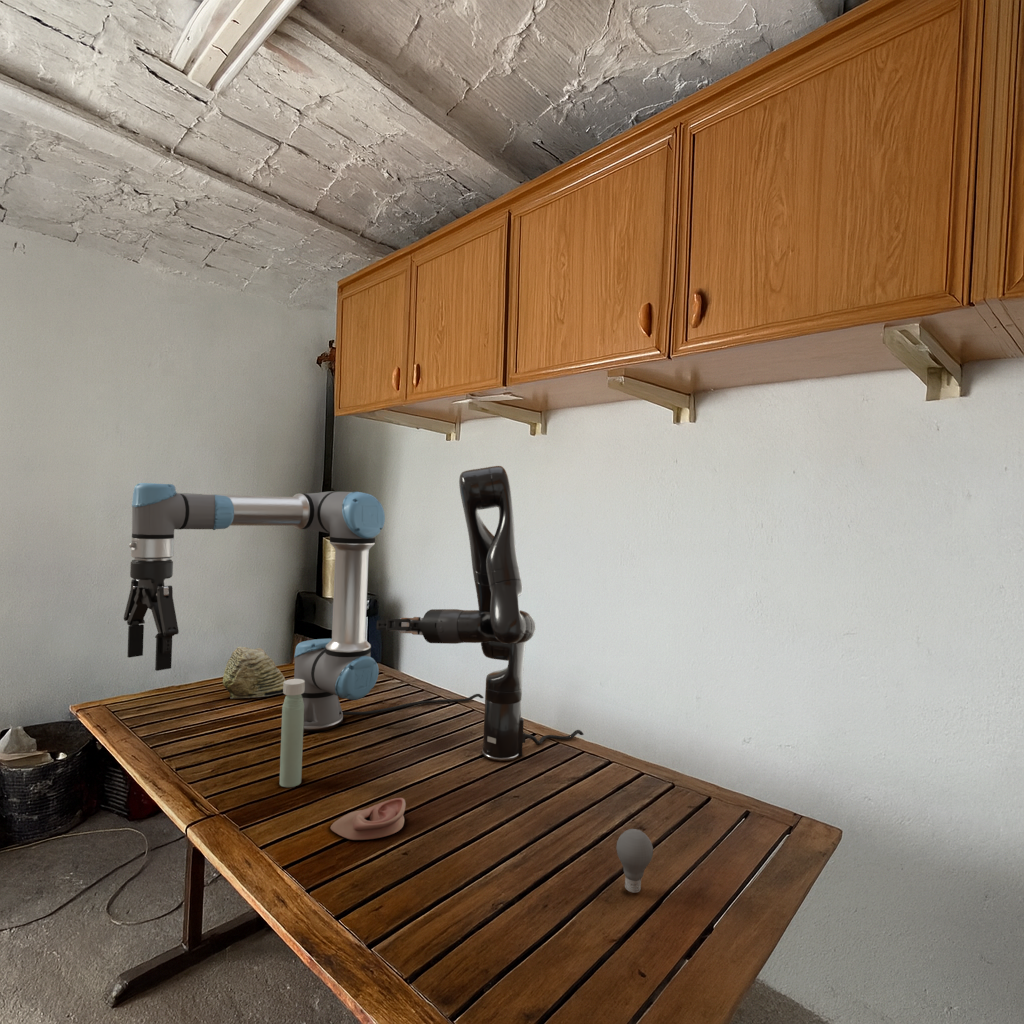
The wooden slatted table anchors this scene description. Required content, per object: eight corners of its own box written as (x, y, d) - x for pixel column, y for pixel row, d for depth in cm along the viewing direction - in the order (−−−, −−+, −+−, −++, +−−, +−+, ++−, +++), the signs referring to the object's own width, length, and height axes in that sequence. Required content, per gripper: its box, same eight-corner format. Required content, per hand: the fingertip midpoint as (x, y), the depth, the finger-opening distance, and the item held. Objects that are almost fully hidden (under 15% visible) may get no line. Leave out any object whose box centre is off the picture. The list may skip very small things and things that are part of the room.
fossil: (218, 695, 195) (220, 647, 195) (278, 685, 208) (279, 640, 207) (228, 703, 189) (230, 653, 188) (289, 692, 201) (290, 645, 201)
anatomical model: (323, 814, 118) (350, 787, 130) (322, 835, 118) (350, 806, 130) (389, 824, 116) (412, 796, 127) (389, 846, 116) (411, 816, 127)
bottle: (305, 780, 141) (309, 681, 141) (293, 788, 137) (296, 687, 136) (287, 776, 142) (291, 679, 142) (274, 785, 138) (278, 684, 138)
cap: (308, 690, 141) (308, 680, 141) (296, 696, 137) (296, 685, 136) (291, 688, 142) (291, 677, 142) (279, 693, 138) (279, 682, 138)
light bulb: (610, 879, 108) (613, 822, 108) (644, 879, 109) (647, 822, 109) (619, 902, 102) (622, 840, 102) (655, 901, 103) (658, 840, 103)
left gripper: (108, 554, 134) (104, 654, 134) (159, 565, 118) (155, 678, 119) (146, 552, 140) (143, 648, 140) (199, 563, 124) (195, 671, 124)
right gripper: (464, 611, 148) (407, 611, 155) (430, 606, 135) (370, 607, 143) (463, 644, 146) (406, 643, 153) (428, 642, 134) (367, 641, 141)
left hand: (148, 662), depth 129 cm, fingers open, 13 cm apart
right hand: (389, 626), depth 148 cm, fingers open, 8 cm apart
